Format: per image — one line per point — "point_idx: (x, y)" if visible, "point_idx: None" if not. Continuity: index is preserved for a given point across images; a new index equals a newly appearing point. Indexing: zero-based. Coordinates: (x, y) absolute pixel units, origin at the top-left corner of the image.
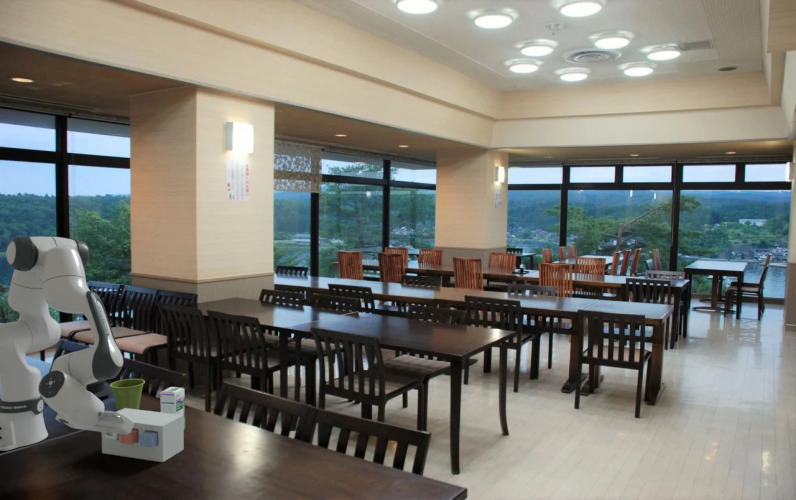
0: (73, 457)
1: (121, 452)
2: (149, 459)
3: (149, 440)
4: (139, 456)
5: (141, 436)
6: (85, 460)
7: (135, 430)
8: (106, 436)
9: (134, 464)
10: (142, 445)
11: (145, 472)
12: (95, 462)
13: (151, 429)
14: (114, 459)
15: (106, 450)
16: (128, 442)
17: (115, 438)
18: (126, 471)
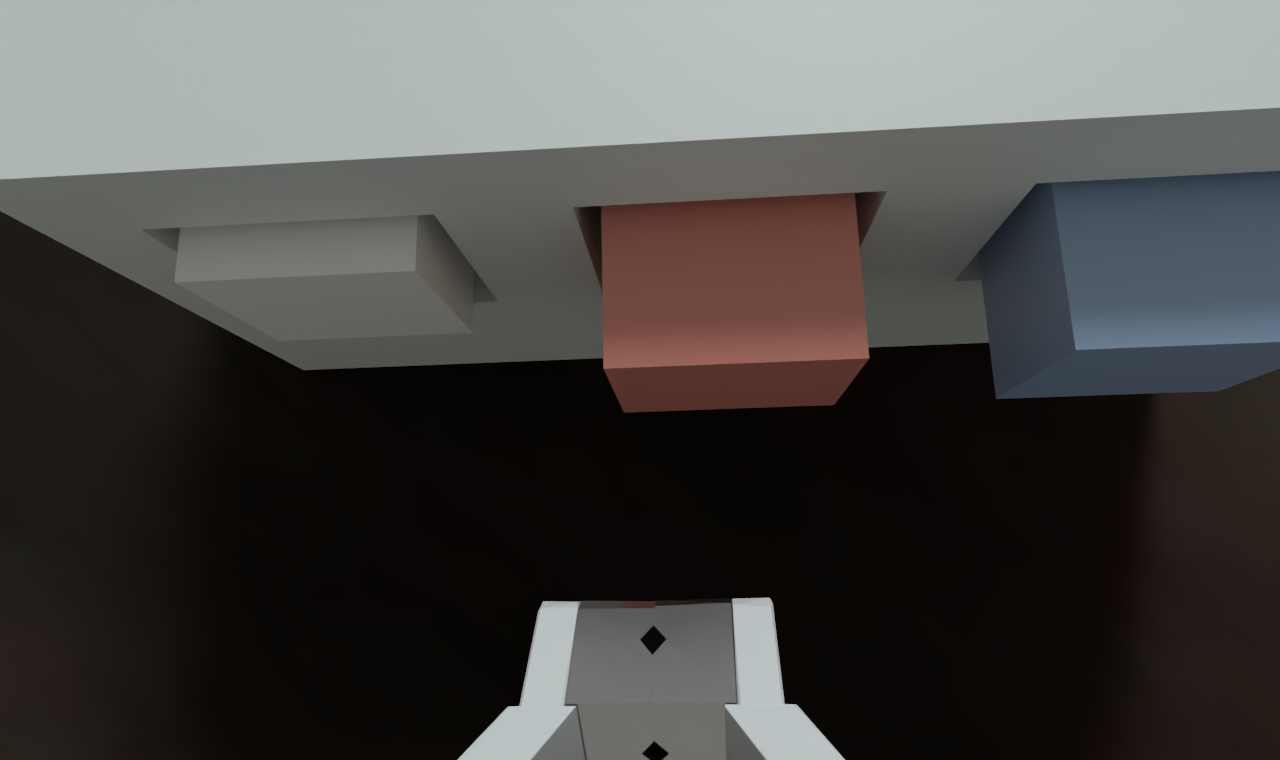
0: (73, 575)
1: (564, 348)
2: (967, 340)
3: (1248, 365)
4: None
5: (1094, 358)
6: (261, 597)
7: (836, 227)
8: (285, 333)
9: (889, 495)
10: (1045, 393)
11: (1196, 639)
12: (412, 604)
13: (1223, 161)
14: (562, 461)
15: (347, 357)
16: (780, 403)
17: (453, 327)
18: (954, 692)
